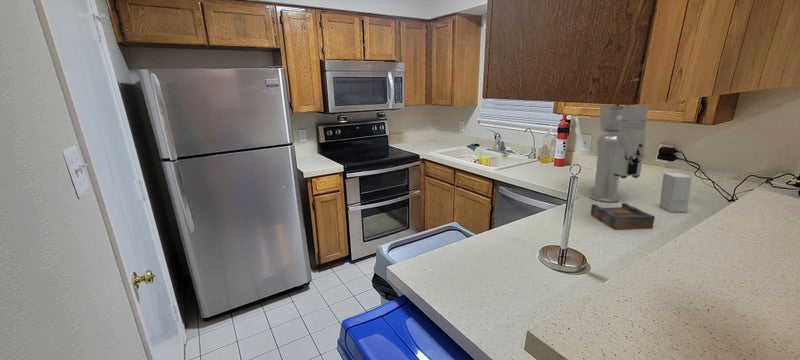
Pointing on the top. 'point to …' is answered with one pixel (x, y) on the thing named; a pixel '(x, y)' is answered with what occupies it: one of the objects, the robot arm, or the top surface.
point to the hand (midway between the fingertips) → (626, 172)
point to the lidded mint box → (624, 165)
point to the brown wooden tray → (623, 217)
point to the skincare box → (675, 192)
